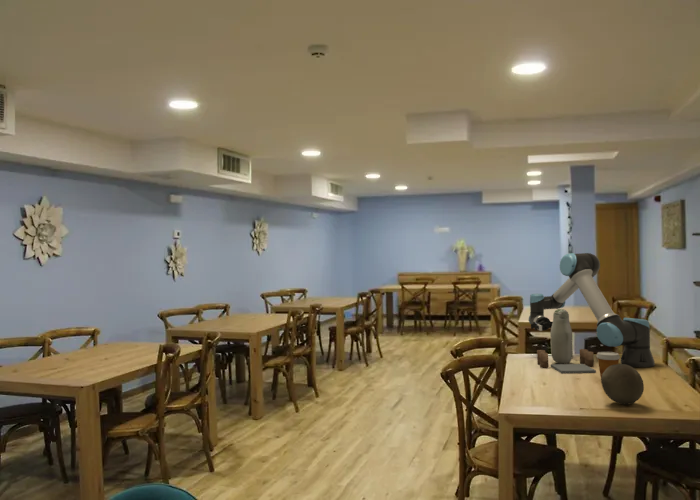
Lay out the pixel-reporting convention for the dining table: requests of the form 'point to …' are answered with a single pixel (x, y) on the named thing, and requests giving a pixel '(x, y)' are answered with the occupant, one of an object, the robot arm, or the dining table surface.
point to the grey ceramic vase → (561, 337)
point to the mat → (572, 368)
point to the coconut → (622, 384)
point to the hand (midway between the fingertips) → (554, 328)
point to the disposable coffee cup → (607, 360)
